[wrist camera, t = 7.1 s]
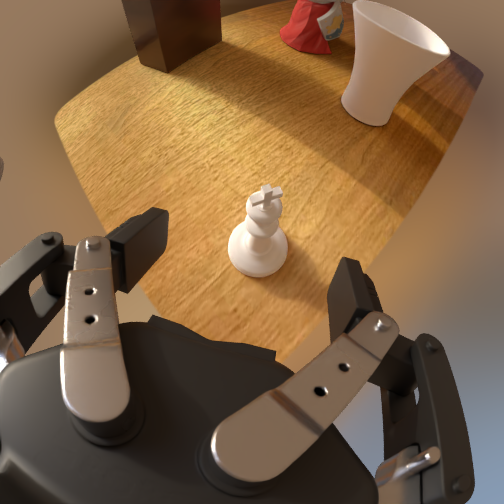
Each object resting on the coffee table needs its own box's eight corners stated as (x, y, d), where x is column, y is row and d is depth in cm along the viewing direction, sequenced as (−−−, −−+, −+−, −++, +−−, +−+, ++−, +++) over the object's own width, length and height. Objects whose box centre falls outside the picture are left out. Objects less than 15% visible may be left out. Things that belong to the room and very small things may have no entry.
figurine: (346, 65, 31) (373, -16, 16) (271, 46, 31) (279, -38, 17) (348, 34, 34) (367, -29, 20) (287, 18, 35) (296, -46, 20)
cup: (311, 107, 27) (337, 8, 14) (342, 72, 30) (367, -4, 17) (390, 154, 26) (450, 69, 13) (408, 111, 28) (451, 41, 15)
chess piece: (297, 264, 22) (333, 215, 13) (241, 286, 22) (237, 252, 12) (273, 212, 23) (289, 139, 14) (219, 232, 23) (203, 165, 13)
